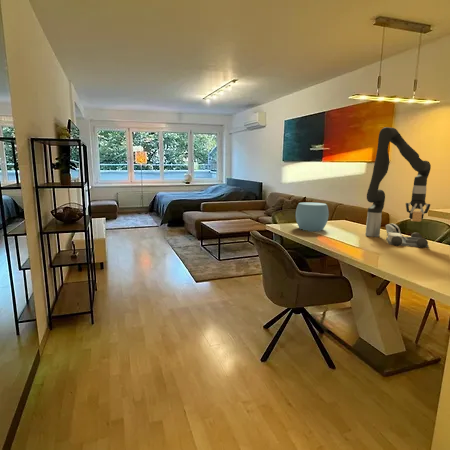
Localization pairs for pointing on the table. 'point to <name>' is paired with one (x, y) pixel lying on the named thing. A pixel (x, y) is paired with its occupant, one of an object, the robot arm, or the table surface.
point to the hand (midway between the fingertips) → (416, 219)
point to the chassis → (406, 240)
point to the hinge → (393, 228)
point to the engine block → (416, 216)
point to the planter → (312, 216)
